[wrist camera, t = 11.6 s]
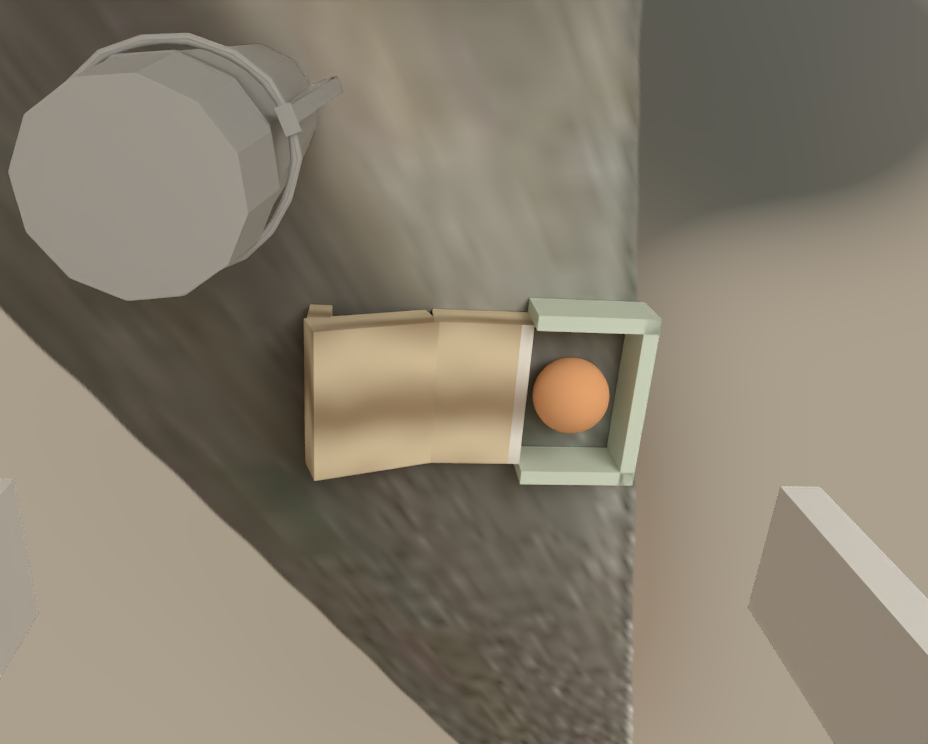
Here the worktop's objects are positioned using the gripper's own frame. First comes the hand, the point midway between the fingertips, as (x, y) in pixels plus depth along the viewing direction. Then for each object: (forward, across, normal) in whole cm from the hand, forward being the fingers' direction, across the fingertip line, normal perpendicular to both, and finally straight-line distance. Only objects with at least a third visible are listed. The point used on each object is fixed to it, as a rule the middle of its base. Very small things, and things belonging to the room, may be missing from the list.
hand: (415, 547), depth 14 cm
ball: (+36, +11, -13) cm, 40 cm away
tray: (+37, +13, -13) cm, 41 cm away
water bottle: (+37, -7, +4) cm, 38 cm away
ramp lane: (+37, +2, -13) cm, 39 cm away
